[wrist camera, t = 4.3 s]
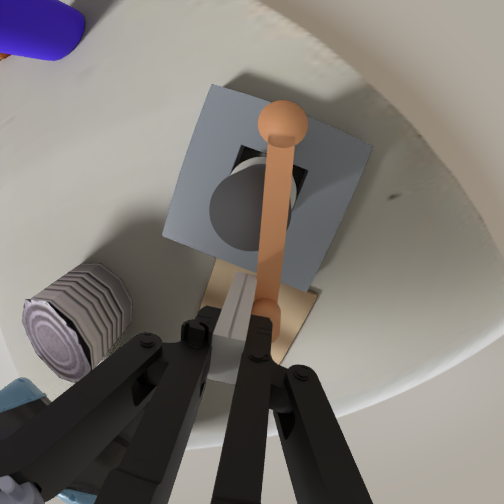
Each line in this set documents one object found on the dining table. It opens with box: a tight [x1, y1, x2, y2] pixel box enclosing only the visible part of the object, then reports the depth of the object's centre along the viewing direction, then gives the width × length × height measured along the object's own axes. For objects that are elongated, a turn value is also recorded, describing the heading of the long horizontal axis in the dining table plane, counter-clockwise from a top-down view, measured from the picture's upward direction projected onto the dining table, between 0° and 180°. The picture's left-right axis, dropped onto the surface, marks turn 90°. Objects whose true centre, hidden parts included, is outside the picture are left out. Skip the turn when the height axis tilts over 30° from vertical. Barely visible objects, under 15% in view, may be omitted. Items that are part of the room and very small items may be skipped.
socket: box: [162, 84, 373, 292], centre depth 24 cm, size 16×16×13 cm
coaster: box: [199, 258, 318, 365], centre depth 35 cm, size 12×12×1 cm
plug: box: [209, 157, 296, 251], centre depth 24 cm, size 6×6×13 cm
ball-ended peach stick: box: [251, 100, 308, 343], centre depth 16 cm, size 13×3×3 cm, turn 176°
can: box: [22, 263, 133, 383], centre depth 32 cm, size 11×11×12 cm
